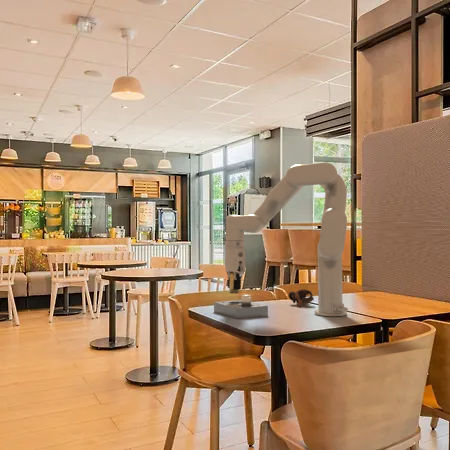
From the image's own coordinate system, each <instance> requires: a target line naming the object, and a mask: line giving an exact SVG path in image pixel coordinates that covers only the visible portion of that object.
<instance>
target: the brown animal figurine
mask: <svg viewBox="0 0 450 450" xmlns="http://www.w3.org/2000/svg"><path fill="white" fill-rule="evenodd" d="M309 295H310V296H309ZM307 296H308V297H307ZM288 297H289V299H290V301H292V302H293V304H297V303H298V304H297V307H299V306H301V307H302V306H303V305H309V304H311V302H312V301H315V298H314V297H313V293H312V291H310V290H309V289H302V288H301V289H298V290H297V291H296V292H295V291H290V292H289V293H288Z"/></svg>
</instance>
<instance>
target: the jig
mask: <svg viewBox="0 0 450 450" xmlns="http://www.w3.org/2000/svg"><path fill="white" fill-rule="evenodd" d="M213 312H214V313H217V314H221V315H223V316H226V317H229V318H233V319H236V320H237V319H238V320H240V319H241V320H242V319H249V318H260V317H268V316H269V306H268V305H266V304H262V303H258V302H253V301H252V295H251V294H241V295H240V299H237V300H223V301H213Z"/></svg>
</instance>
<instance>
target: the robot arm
mask: <svg viewBox="0 0 450 450" xmlns="http://www.w3.org/2000/svg"><path fill="white" fill-rule="evenodd" d="M316 185H317V186H320V187H322V188H323V189H324V192H325V193H324V195H325V196H324V204H323V206H324V207H323V212H322V216H321V219H320V220H321V221H320V222H321V225H320V226H321V227H320V234H319V241H318V243H317V250H316V251H317V290H318V292H317V293H318V295H317V297H318V299H317V305H318V308H317V309H315V310H314V315H316V316H322V317H344V316H346V315H347V312H348V310H349V308H348V307H345V303H343V260H342V259H343V258H342V256H343V252H344V248H345V243H346V237H347V236H346V235H347V227H348V217H347V214H346V207H347V196H348V195H347V194H348V191H347V186H346V183H345V180H344V179H343V178H342V176H341V175H340V174H338V171H337V168H336V166H335V165H334V164H332V163H330V162H316V163H307V164H294V165H292V166H291V167H289V168H287V171H286V173H285V175H284V176H283V177H282V178H281V179H280V180H279V181H278V182H277V184H275V185H274V187H272V188H271V190H269V192H268V194H267V195H266V197H265V199H264V201H263V202H262V203H261V204H260V206H259V207H258V208H257V209H256V210H255V211H254V212H253V214H248V215H247V214H246V215H245V214H244V215H238V214H233V215H227V216H226V218H225V219H226V220H225V259H224V261H225V263H224V264H225V266H224V267H225V272H226V275H227V288H228V289H230V273H234V279H235V280H234V285H233V289H234V290H239V291H240V290H241V289H242V277H243V275H244V274H245V272H246V270H247V269H246V268H247V267H246V253H245V233H250V234H257V233H259V232H261V231H262V230H263V229H264V228H265V227H266V226H267V225H268V224H269V223H270V221H271V220H273V218H274V217H275V216H276V215H277V214H279V212H280V211H281V210H283V208H285V206H286V205H287V204H288V203H289V202H290V201H291V200H292V199H293V198H294V196H295V195H297V194H298V193H299V191H300V190H301V189H302V188H303V187H304V186H316Z"/></svg>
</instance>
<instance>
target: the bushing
mask: <svg viewBox="0 0 450 450" xmlns="http://www.w3.org/2000/svg"><path fill="white" fill-rule="evenodd" d="M234 280H235V279H234V273H230V288H229V294H240V289H239V290H234V289H233V285H234Z"/></svg>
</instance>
